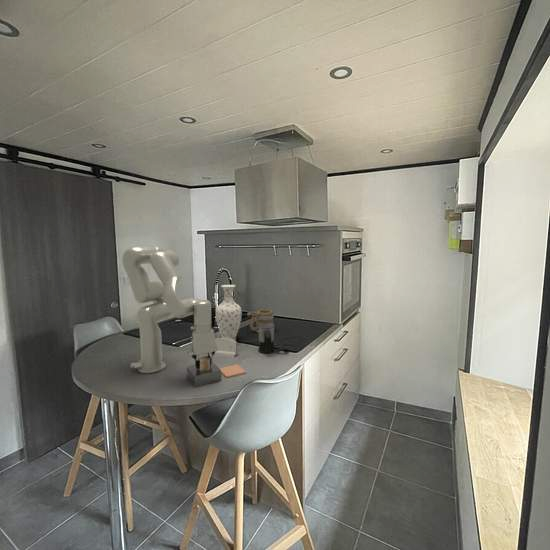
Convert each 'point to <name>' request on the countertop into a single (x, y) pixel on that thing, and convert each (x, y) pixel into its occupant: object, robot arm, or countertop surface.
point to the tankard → (261, 318)
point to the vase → (228, 314)
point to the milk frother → (267, 339)
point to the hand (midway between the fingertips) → (203, 366)
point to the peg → (204, 363)
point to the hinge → (226, 347)
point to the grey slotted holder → (203, 375)
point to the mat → (232, 371)
